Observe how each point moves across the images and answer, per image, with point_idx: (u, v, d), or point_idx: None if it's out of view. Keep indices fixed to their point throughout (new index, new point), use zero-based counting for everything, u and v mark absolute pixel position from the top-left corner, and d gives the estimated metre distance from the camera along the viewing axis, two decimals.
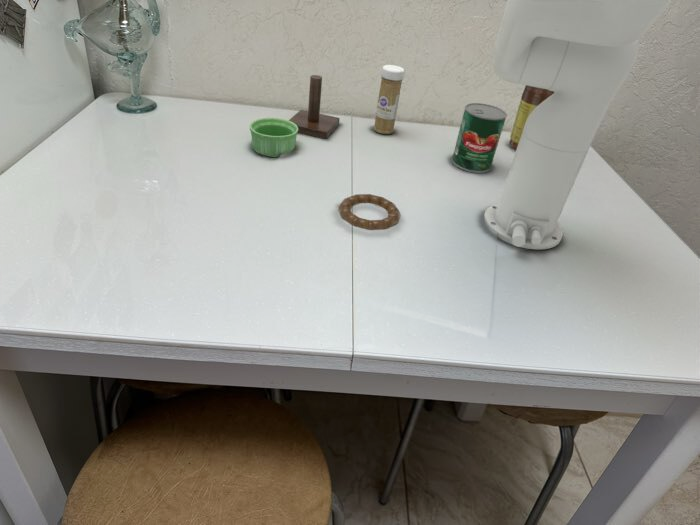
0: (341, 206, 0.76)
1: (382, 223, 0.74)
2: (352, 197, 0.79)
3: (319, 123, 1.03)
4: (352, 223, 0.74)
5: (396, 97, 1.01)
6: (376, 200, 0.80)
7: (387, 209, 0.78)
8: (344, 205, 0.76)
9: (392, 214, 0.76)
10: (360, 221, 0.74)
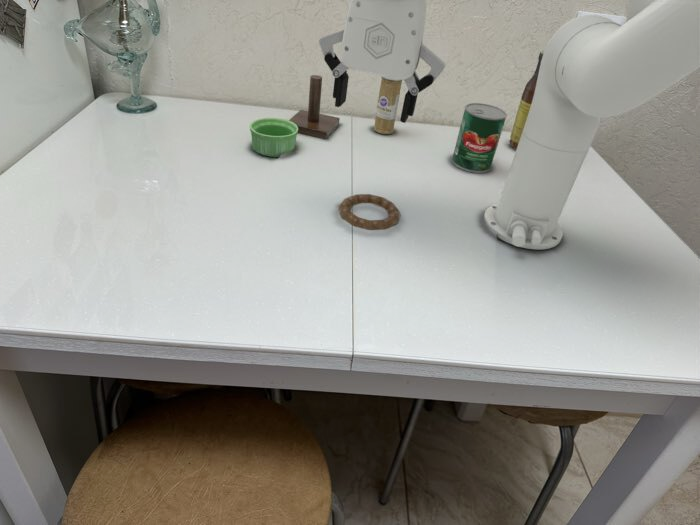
0: (341, 206, 0.76)
1: (382, 223, 0.74)
2: (352, 197, 0.79)
3: (319, 123, 1.03)
4: (352, 223, 0.74)
5: (396, 97, 1.01)
6: (376, 200, 0.80)
7: (387, 209, 0.78)
8: (344, 205, 0.76)
9: (392, 214, 0.76)
10: (360, 221, 0.74)
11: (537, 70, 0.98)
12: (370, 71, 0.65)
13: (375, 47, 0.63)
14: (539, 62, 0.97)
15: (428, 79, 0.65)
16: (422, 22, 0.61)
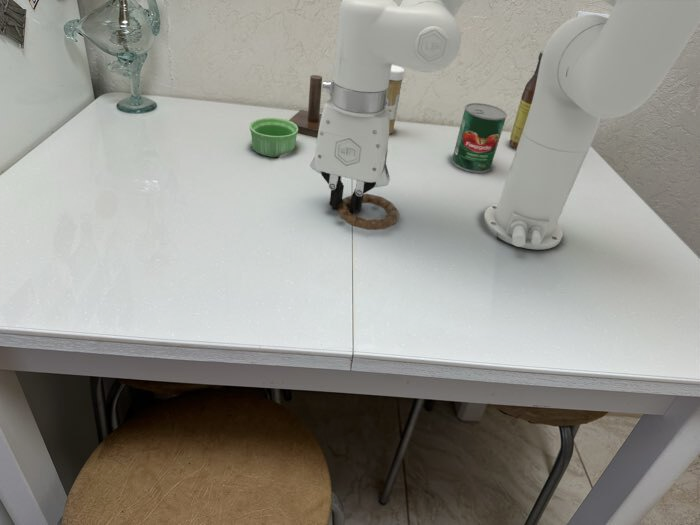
0: (340, 206, 0.76)
1: (381, 222, 0.74)
2: None
3: (319, 123, 1.03)
4: (351, 223, 0.74)
5: (396, 97, 1.01)
6: (375, 200, 0.80)
7: (386, 209, 0.78)
8: (343, 205, 0.76)
9: (391, 213, 0.76)
10: (359, 221, 0.74)
11: (537, 70, 0.98)
12: (341, 175, 0.72)
13: (345, 156, 0.70)
14: (539, 62, 0.97)
15: (370, 183, 0.73)
16: (385, 136, 0.68)
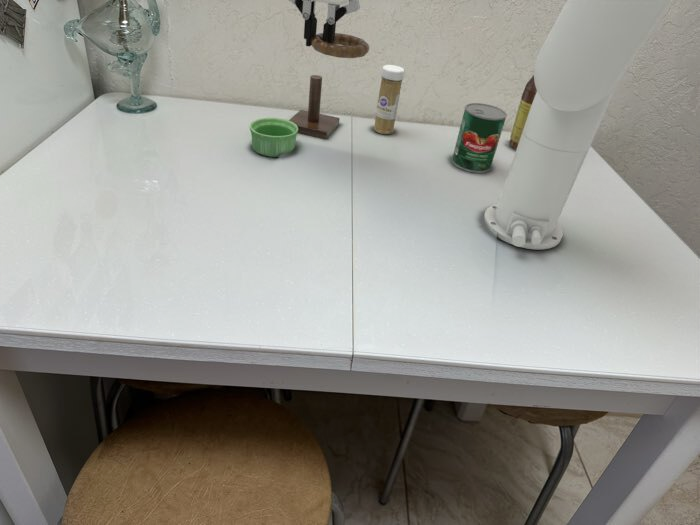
0: (313, 37, 0.81)
1: (351, 47, 0.78)
2: None
3: (319, 123, 1.03)
4: (323, 48, 0.78)
5: (396, 97, 1.01)
6: (347, 38, 0.84)
7: (357, 44, 0.83)
8: (316, 36, 0.81)
9: (361, 44, 0.81)
10: (330, 45, 0.78)
11: None
12: None
13: None
14: None
15: (341, 9, 0.78)
16: None
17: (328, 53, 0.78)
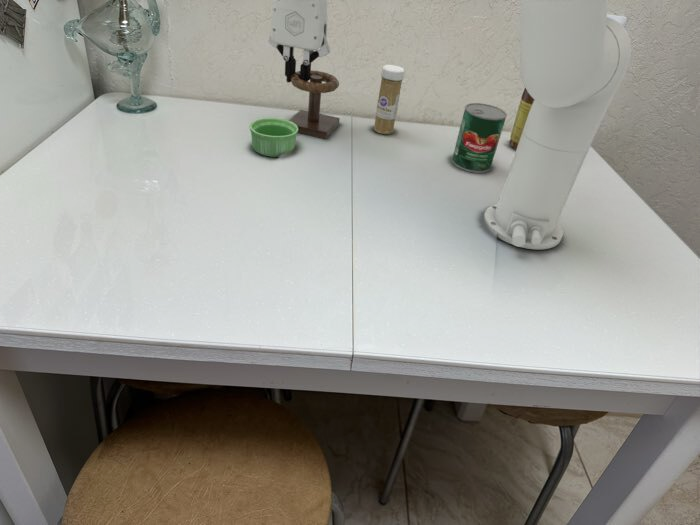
0: (292, 75, 0.98)
1: (323, 84, 0.95)
2: None
3: (319, 123, 1.03)
4: (299, 85, 0.95)
5: (396, 97, 1.01)
6: (321, 74, 1.01)
7: (329, 80, 1.00)
8: (295, 74, 0.98)
9: (332, 81, 0.98)
10: (305, 83, 0.95)
11: None
12: (291, 45, 0.93)
13: (293, 28, 0.92)
14: None
15: (314, 53, 0.95)
16: (322, 10, 0.90)
17: (304, 89, 0.96)
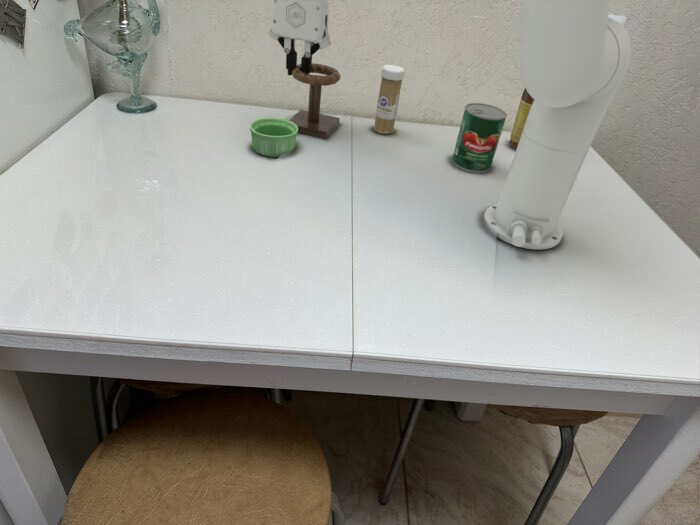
0: (293, 68, 0.97)
1: (324, 77, 0.94)
2: None
3: (319, 123, 1.03)
4: (300, 77, 0.94)
5: (396, 97, 1.01)
6: (322, 67, 1.00)
7: (330, 73, 0.99)
8: (296, 67, 0.97)
9: (333, 73, 0.97)
10: (307, 75, 0.94)
11: None
12: (292, 37, 0.92)
13: (293, 19, 0.91)
14: None
15: (315, 45, 0.94)
16: (323, 1, 0.89)
17: (305, 82, 0.95)
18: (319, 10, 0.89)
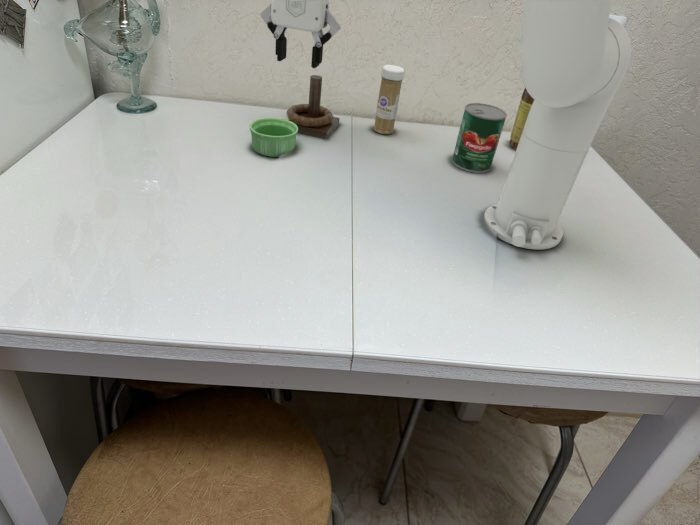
0: (288, 109, 1.02)
1: (317, 119, 1.00)
2: (298, 105, 1.05)
3: None
4: (295, 120, 1.00)
5: (396, 97, 1.01)
6: None
7: (324, 113, 1.04)
8: (291, 109, 1.02)
9: (326, 115, 1.02)
10: (301, 118, 1.00)
11: None
12: (292, 27, 0.91)
13: (293, 9, 0.90)
14: None
15: (327, 35, 0.92)
16: None
17: (299, 124, 1.00)
18: None
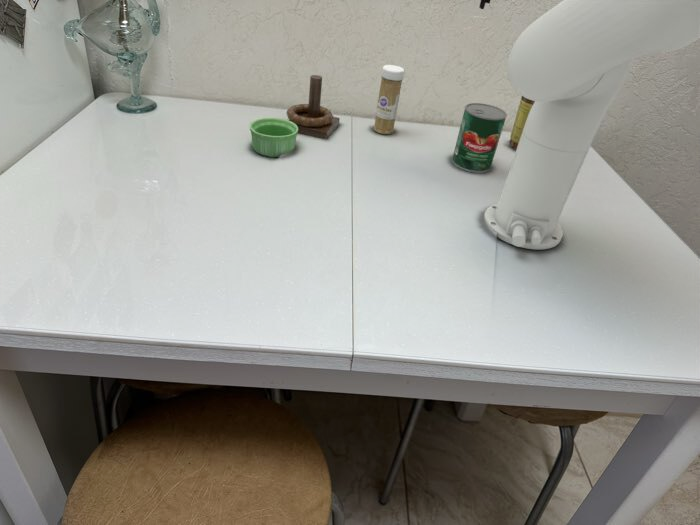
0: (288, 109, 1.02)
1: (317, 119, 1.00)
2: (298, 105, 1.05)
3: None
4: (295, 120, 1.00)
5: (396, 97, 1.01)
6: None
7: (324, 113, 1.04)
8: (291, 109, 1.02)
9: (326, 115, 1.02)
10: (301, 118, 1.00)
11: None
12: None
13: None
14: None
15: None
16: None
17: (299, 124, 1.00)
18: None
